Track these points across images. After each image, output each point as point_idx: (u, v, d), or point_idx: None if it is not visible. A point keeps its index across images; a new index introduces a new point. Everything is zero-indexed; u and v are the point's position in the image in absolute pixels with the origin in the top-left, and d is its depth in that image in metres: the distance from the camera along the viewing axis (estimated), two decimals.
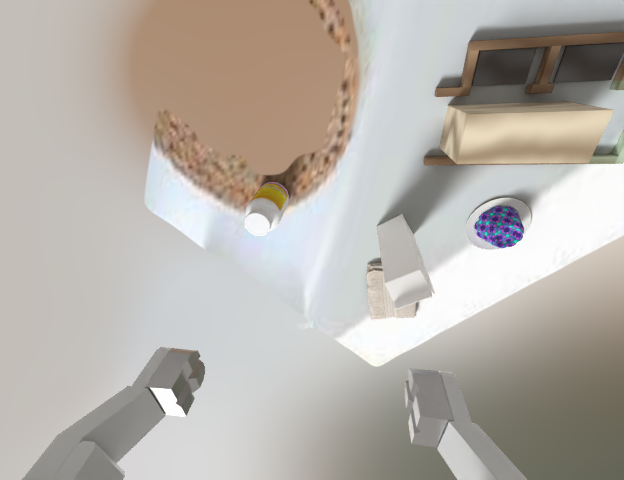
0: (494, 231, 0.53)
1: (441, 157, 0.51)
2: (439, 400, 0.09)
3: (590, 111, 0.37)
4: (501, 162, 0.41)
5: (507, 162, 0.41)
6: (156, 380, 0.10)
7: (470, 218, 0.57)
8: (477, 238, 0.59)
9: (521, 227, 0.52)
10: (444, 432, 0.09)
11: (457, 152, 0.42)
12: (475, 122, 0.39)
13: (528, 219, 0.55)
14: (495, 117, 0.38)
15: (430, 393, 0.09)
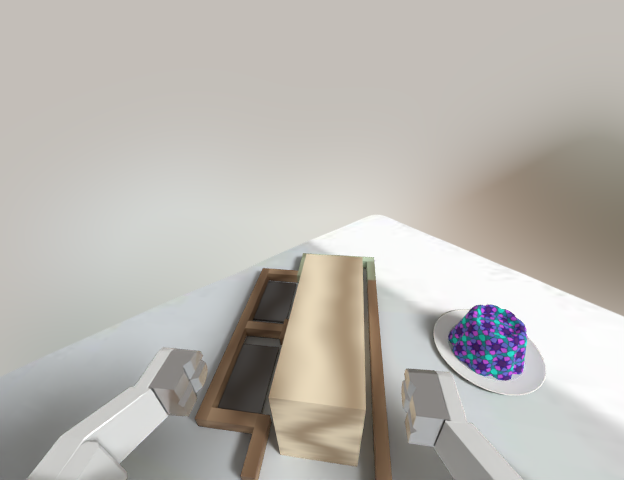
0: (499, 340, 0.30)
1: (375, 459, 0.24)
2: (435, 400, 0.09)
3: (303, 267, 0.33)
4: (362, 335, 0.25)
5: (362, 327, 0.25)
6: (159, 381, 0.10)
7: (494, 389, 0.30)
8: (527, 371, 0.32)
9: (473, 309, 0.34)
10: (440, 432, 0.09)
11: (344, 413, 0.20)
12: (287, 383, 0.21)
13: (458, 312, 0.39)
14: (285, 354, 0.23)
15: (426, 393, 0.09)
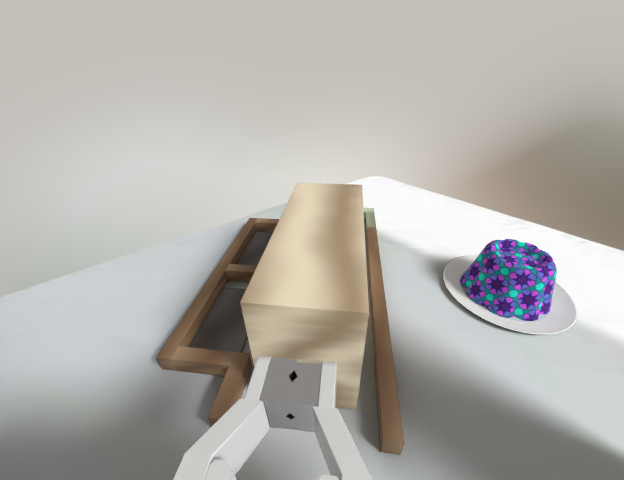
0: (525, 271, 0.25)
1: (379, 400, 0.19)
2: (311, 387, 0.09)
3: (293, 193, 0.28)
4: (362, 246, 0.20)
5: (362, 239, 0.20)
6: (269, 392, 0.09)
7: (521, 330, 0.25)
8: (555, 310, 0.27)
9: (489, 244, 0.29)
10: (314, 418, 0.09)
11: (340, 321, 0.15)
12: (266, 288, 0.16)
13: (468, 258, 0.34)
14: (266, 263, 0.18)
15: (305, 381, 0.09)
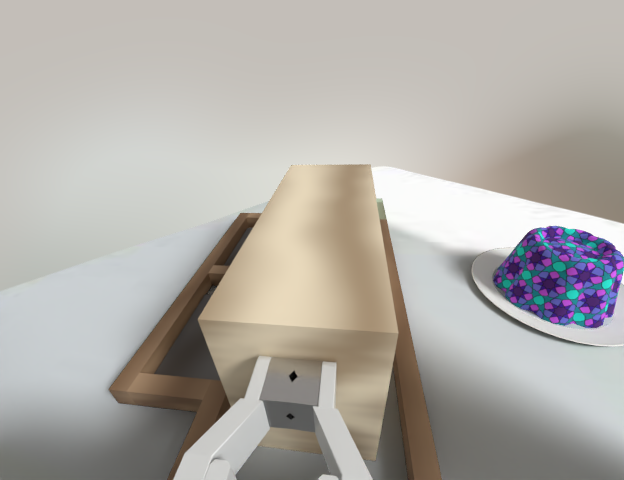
0: (589, 265, 0.19)
1: (407, 447, 0.14)
2: (311, 387, 0.09)
3: (286, 175, 0.23)
4: (378, 234, 0.14)
5: (377, 226, 0.15)
6: (269, 392, 0.09)
7: (589, 341, 0.19)
8: (620, 311, 0.22)
9: (531, 233, 0.23)
10: (314, 418, 0.09)
11: (352, 346, 0.10)
12: (240, 297, 0.11)
13: (496, 252, 0.28)
14: (243, 260, 0.13)
15: (305, 381, 0.09)
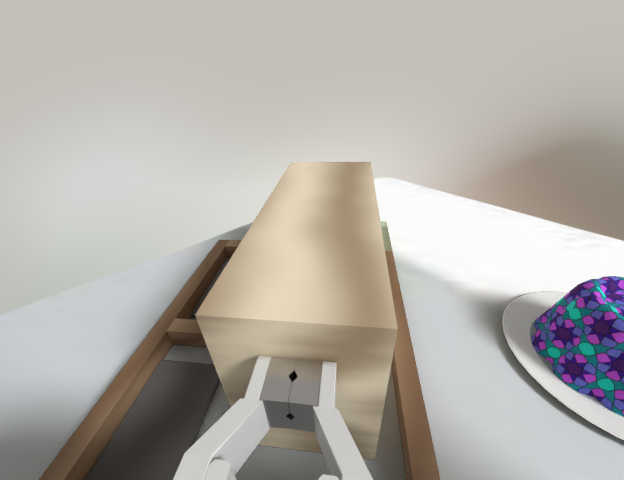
0: None
1: None
2: (311, 387, 0.09)
3: (285, 172, 0.23)
4: (377, 230, 0.14)
5: (376, 222, 0.15)
6: (269, 392, 0.09)
7: None
8: None
9: (585, 288, 0.18)
10: (314, 418, 0.09)
11: (351, 342, 0.10)
12: (238, 293, 0.11)
13: (528, 299, 0.23)
14: (242, 256, 0.13)
15: (306, 381, 0.09)
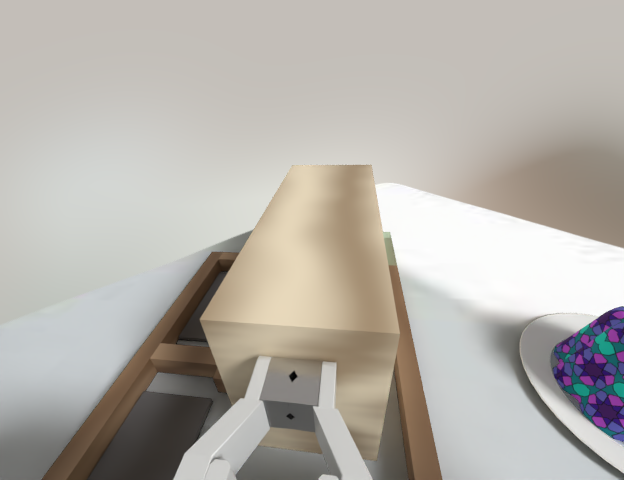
0: None
1: None
2: (311, 387, 0.09)
3: (287, 175, 0.23)
4: (379, 234, 0.14)
5: (378, 226, 0.15)
6: (269, 392, 0.09)
7: None
8: None
9: (616, 318, 0.16)
10: (314, 418, 0.09)
11: (353, 346, 0.10)
12: (242, 297, 0.11)
13: (545, 322, 0.21)
14: (245, 260, 0.13)
15: (305, 381, 0.09)
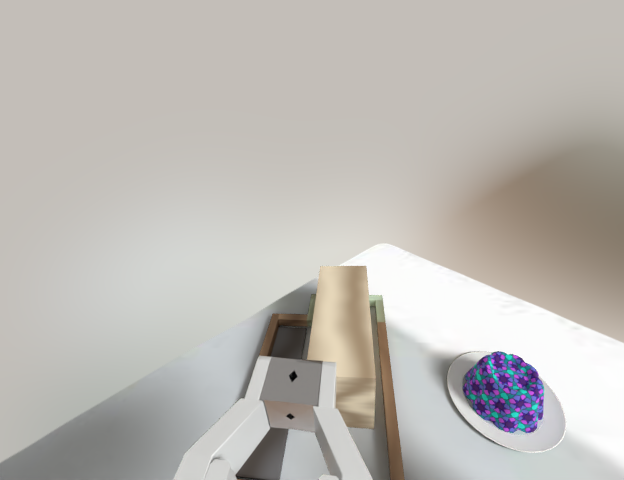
0: (522, 397, 0.29)
1: None
2: (311, 387, 0.09)
3: (319, 277, 0.41)
4: (369, 327, 0.32)
5: (369, 321, 0.33)
6: (269, 392, 0.09)
7: (528, 448, 0.29)
8: (547, 412, 0.32)
9: (484, 361, 0.33)
10: (314, 418, 0.09)
11: (360, 382, 0.28)
12: None
13: (463, 358, 0.38)
14: (313, 344, 0.31)
15: (305, 381, 0.09)
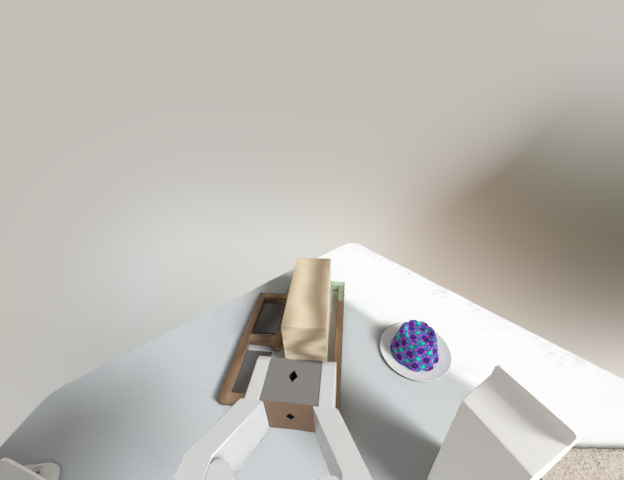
0: (421, 346, 0.45)
1: None
2: (311, 387, 0.09)
3: (295, 266, 0.56)
4: (326, 299, 0.48)
5: (327, 295, 0.48)
6: (269, 392, 0.09)
7: (425, 379, 0.45)
8: (441, 359, 0.48)
9: (402, 326, 0.48)
10: (314, 418, 0.09)
11: (316, 332, 0.43)
12: (289, 320, 0.44)
13: (392, 327, 0.54)
14: (287, 309, 0.46)
15: (305, 381, 0.09)
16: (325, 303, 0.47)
